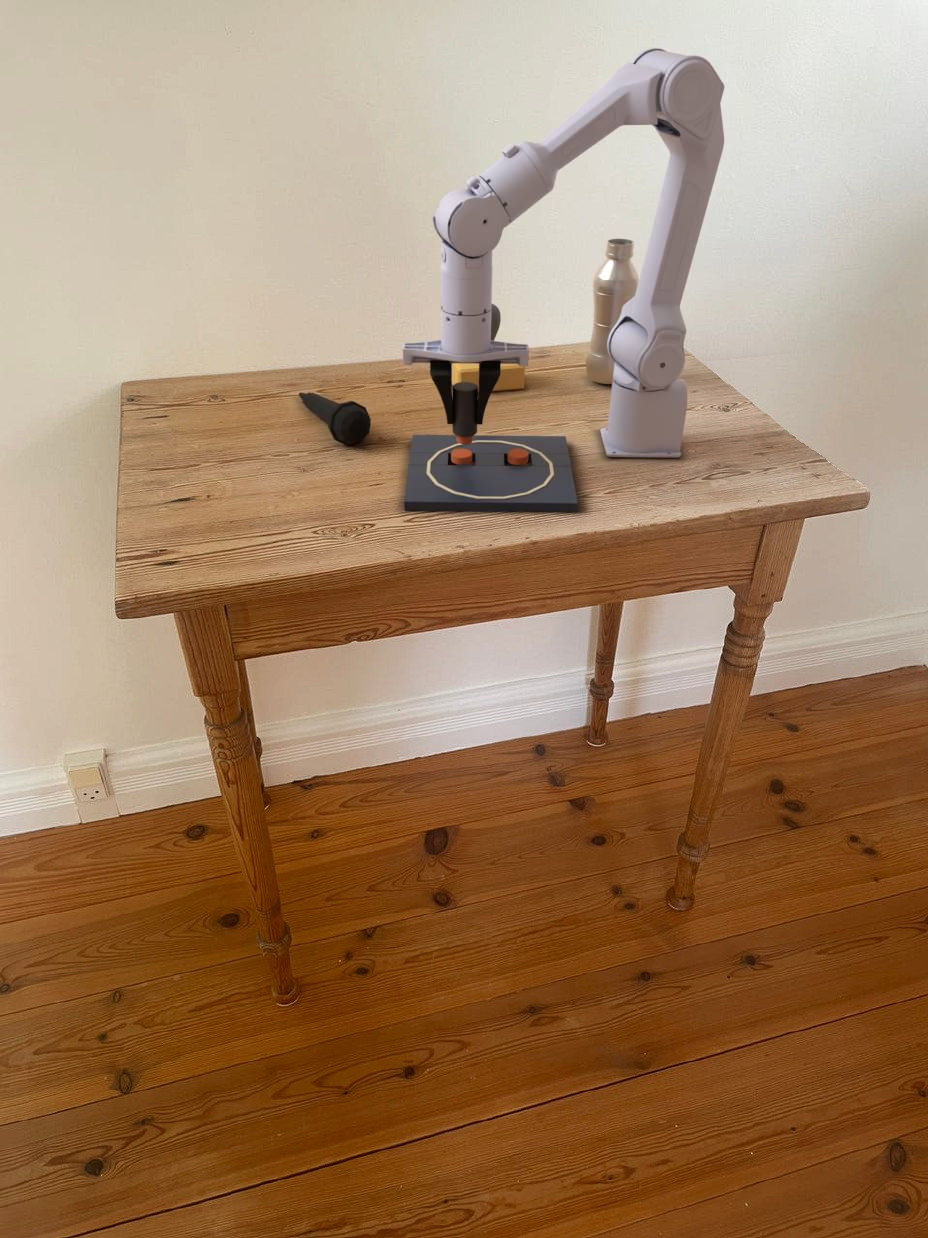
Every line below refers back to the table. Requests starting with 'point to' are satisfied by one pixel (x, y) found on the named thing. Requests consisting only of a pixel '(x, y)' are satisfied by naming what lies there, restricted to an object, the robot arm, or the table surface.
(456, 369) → the rubber stamp
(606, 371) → the plastic bottle
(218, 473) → the table surface
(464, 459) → the eye
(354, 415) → the microphone
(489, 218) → the robot arm
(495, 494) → the face board
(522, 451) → the eye
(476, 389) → the marker
